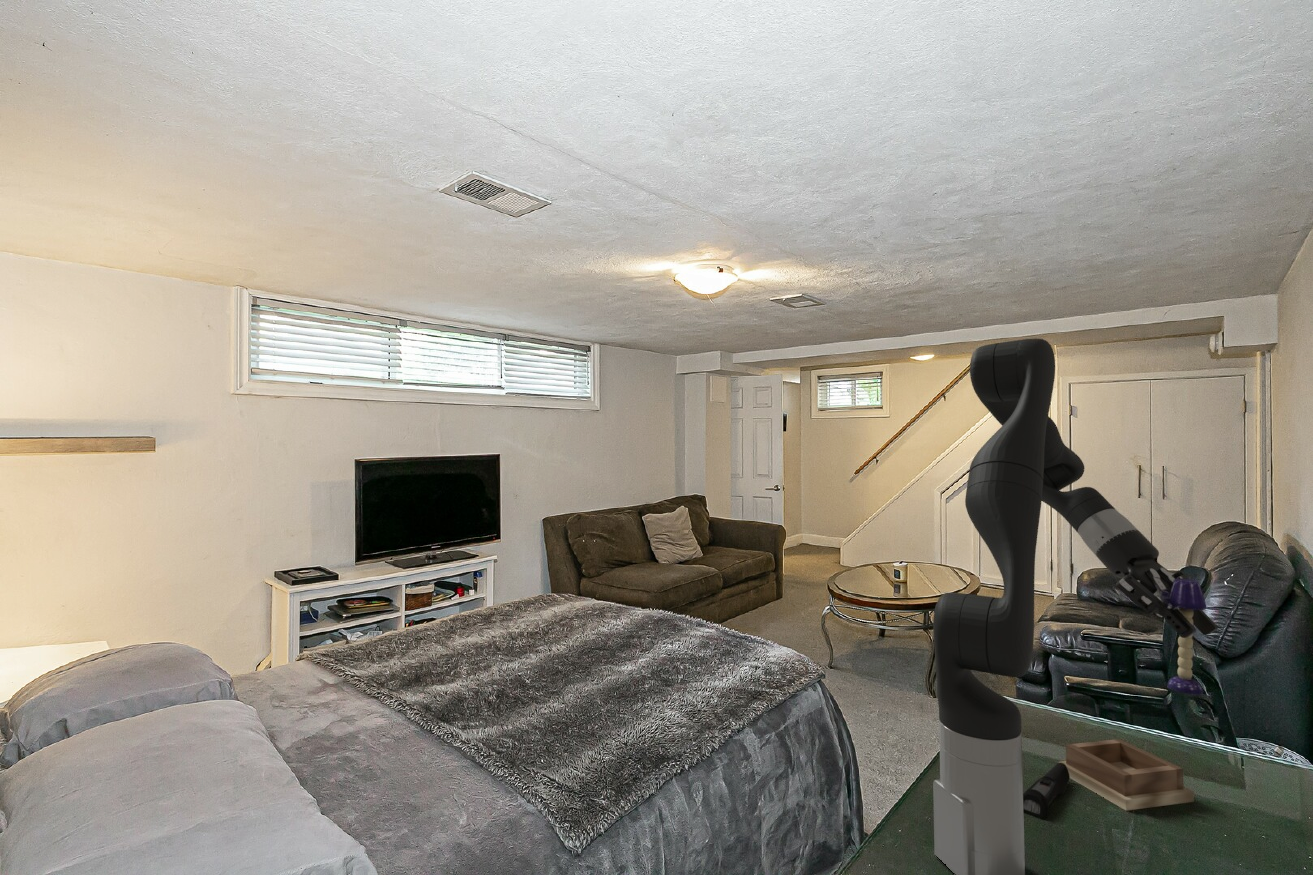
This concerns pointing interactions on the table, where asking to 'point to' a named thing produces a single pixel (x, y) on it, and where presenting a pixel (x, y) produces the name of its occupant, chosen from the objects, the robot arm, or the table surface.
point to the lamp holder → (1126, 774)
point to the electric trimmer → (1045, 791)
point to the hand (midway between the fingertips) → (1200, 632)
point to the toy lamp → (1187, 600)
